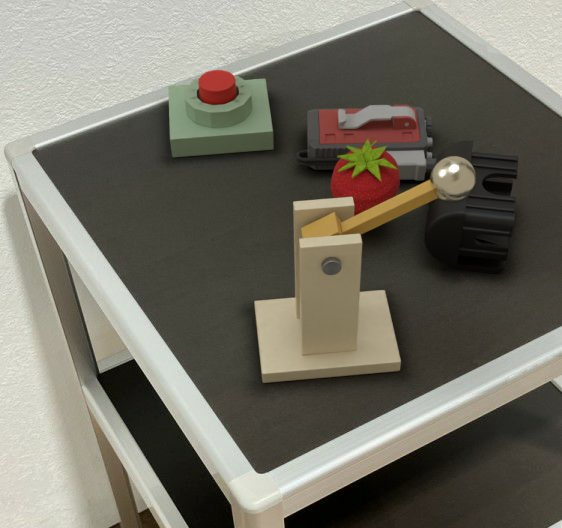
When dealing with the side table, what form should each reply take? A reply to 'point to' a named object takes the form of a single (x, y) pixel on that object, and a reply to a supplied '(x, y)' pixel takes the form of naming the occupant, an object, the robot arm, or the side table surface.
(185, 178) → the side table surface
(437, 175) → the lever
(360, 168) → the strawberry
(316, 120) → the walkie-talkie
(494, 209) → the end cap
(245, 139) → the button box
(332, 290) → the bracket
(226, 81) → the button
